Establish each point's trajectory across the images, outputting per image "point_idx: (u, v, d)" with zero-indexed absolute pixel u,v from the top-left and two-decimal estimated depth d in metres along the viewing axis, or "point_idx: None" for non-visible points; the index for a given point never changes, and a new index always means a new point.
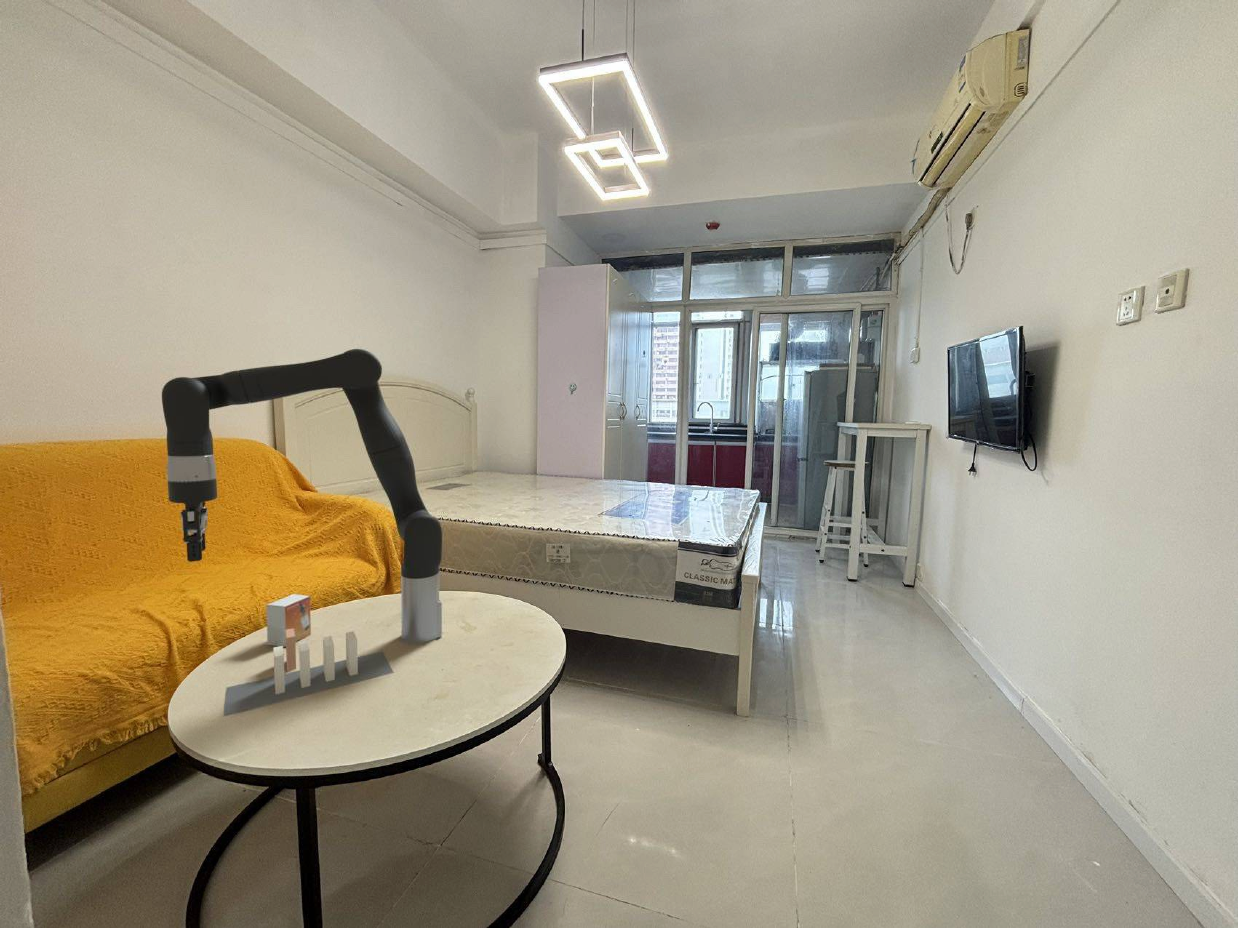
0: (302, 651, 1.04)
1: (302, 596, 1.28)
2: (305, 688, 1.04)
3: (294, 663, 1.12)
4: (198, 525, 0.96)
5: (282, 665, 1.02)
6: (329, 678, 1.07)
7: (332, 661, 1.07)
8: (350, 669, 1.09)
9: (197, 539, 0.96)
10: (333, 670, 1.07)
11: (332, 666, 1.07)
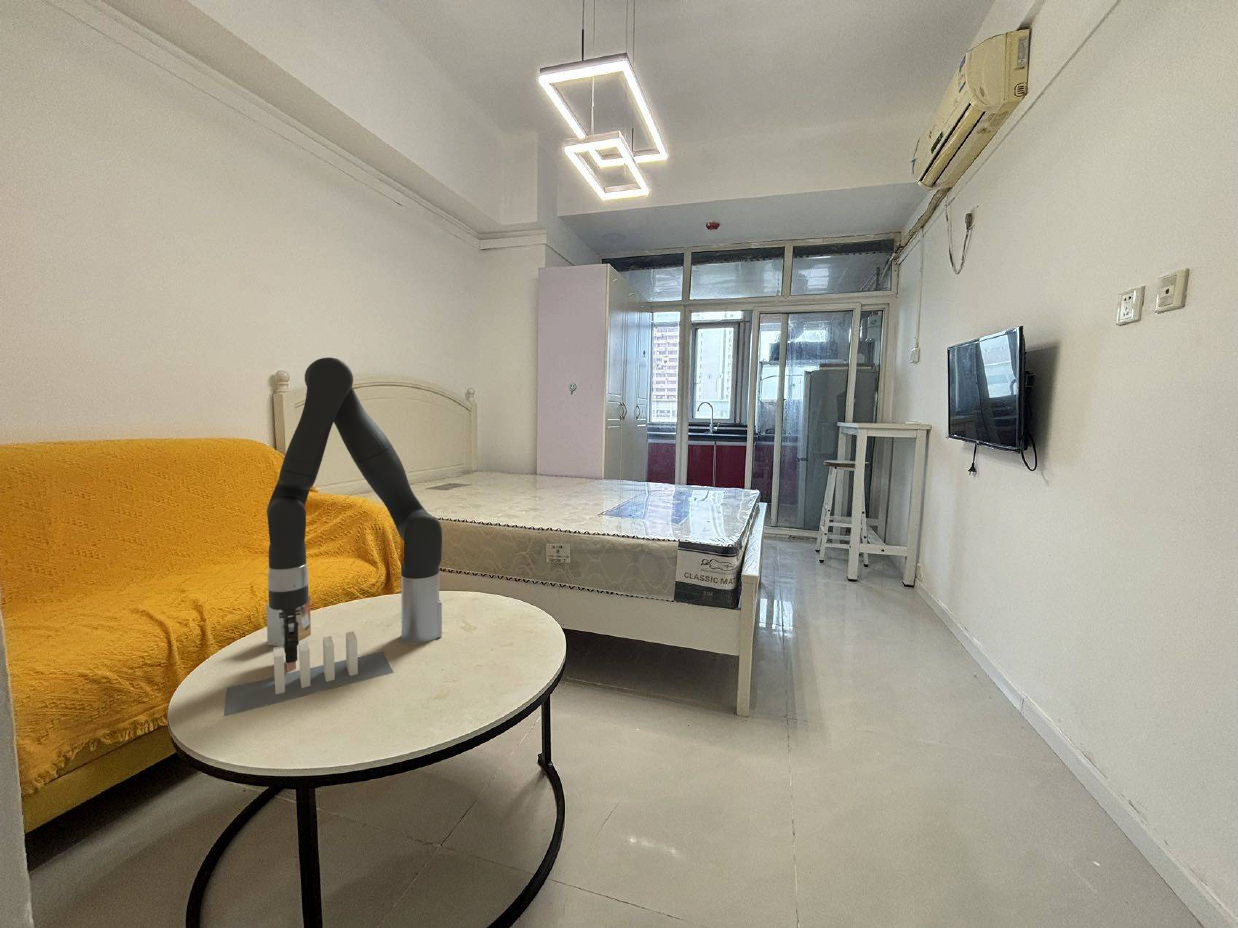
0: (302, 651, 1.04)
1: None
2: (305, 688, 1.04)
3: (294, 663, 1.12)
4: (297, 634, 1.08)
5: (282, 665, 1.02)
6: (329, 678, 1.07)
7: (332, 661, 1.07)
8: (350, 669, 1.09)
9: (295, 644, 1.09)
10: (333, 670, 1.07)
11: (332, 666, 1.07)
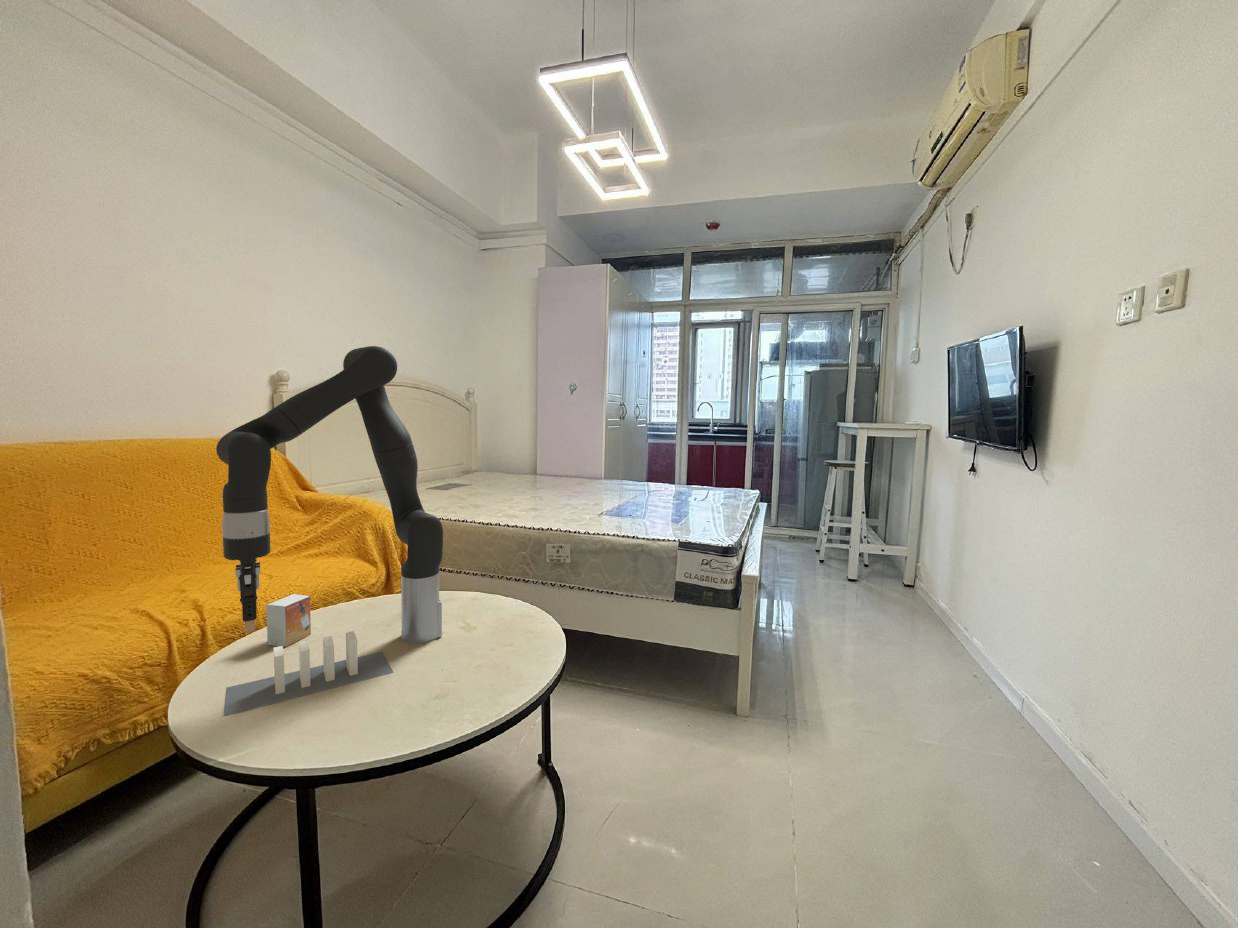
0: (302, 651, 1.04)
1: (302, 596, 1.28)
2: (305, 688, 1.04)
3: (252, 622, 0.98)
4: (254, 588, 0.95)
5: (282, 665, 1.02)
6: (329, 678, 1.07)
7: (332, 661, 1.07)
8: (350, 669, 1.09)
9: (253, 600, 0.95)
10: (333, 670, 1.07)
11: (332, 666, 1.07)
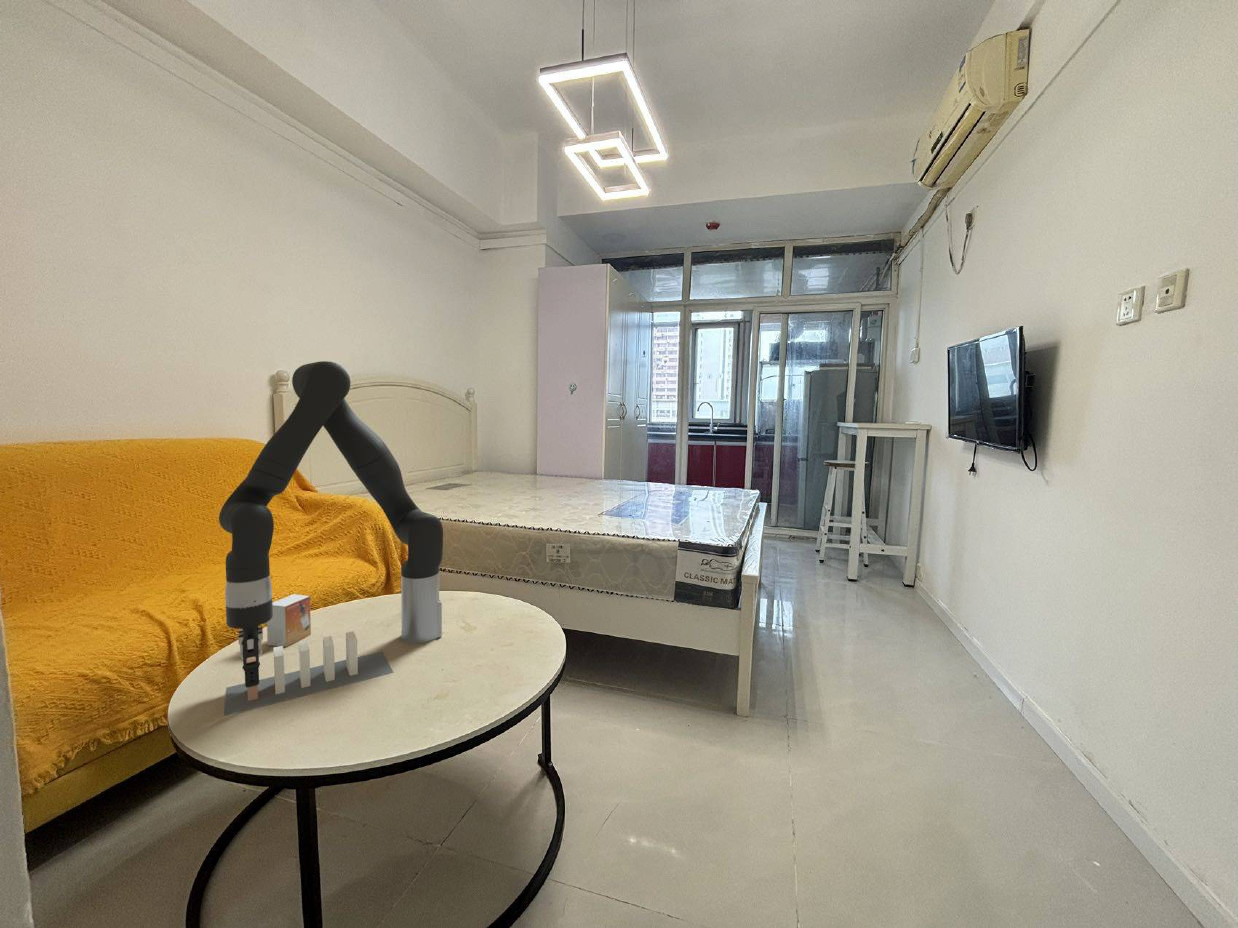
0: (302, 651, 1.04)
1: (302, 596, 1.28)
2: (305, 688, 1.04)
3: (255, 691, 0.99)
4: (257, 652, 0.95)
5: (282, 665, 1.02)
6: (329, 678, 1.07)
7: (332, 661, 1.07)
8: (350, 669, 1.09)
9: (256, 666, 0.95)
10: (333, 670, 1.07)
11: (332, 666, 1.07)
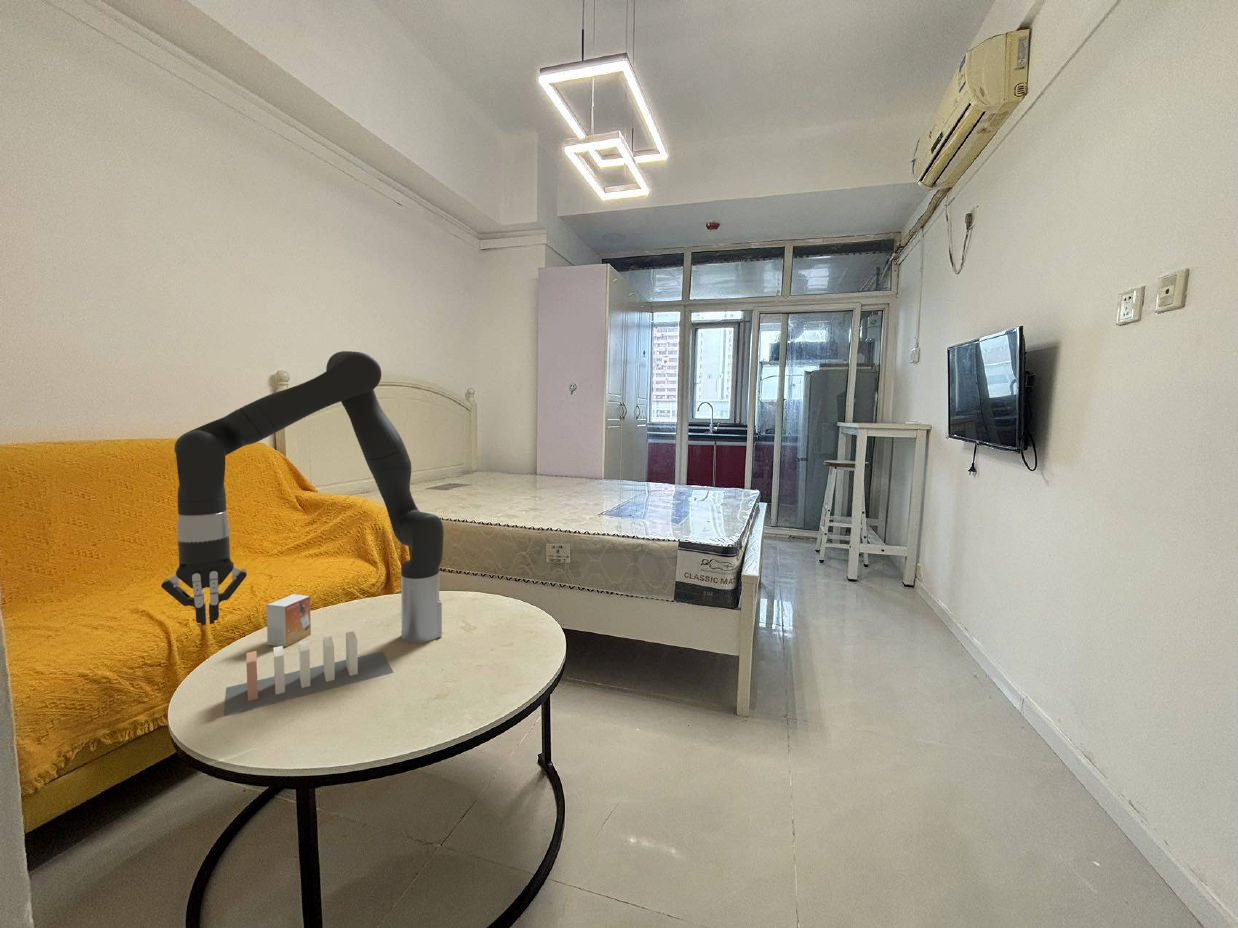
0: (302, 651, 1.04)
1: (302, 596, 1.28)
2: (305, 688, 1.04)
3: (255, 691, 0.99)
4: (172, 595, 0.92)
5: (282, 665, 1.02)
6: (329, 678, 1.07)
7: (332, 661, 1.07)
8: (350, 669, 1.09)
9: None
10: (333, 670, 1.07)
11: (332, 666, 1.07)
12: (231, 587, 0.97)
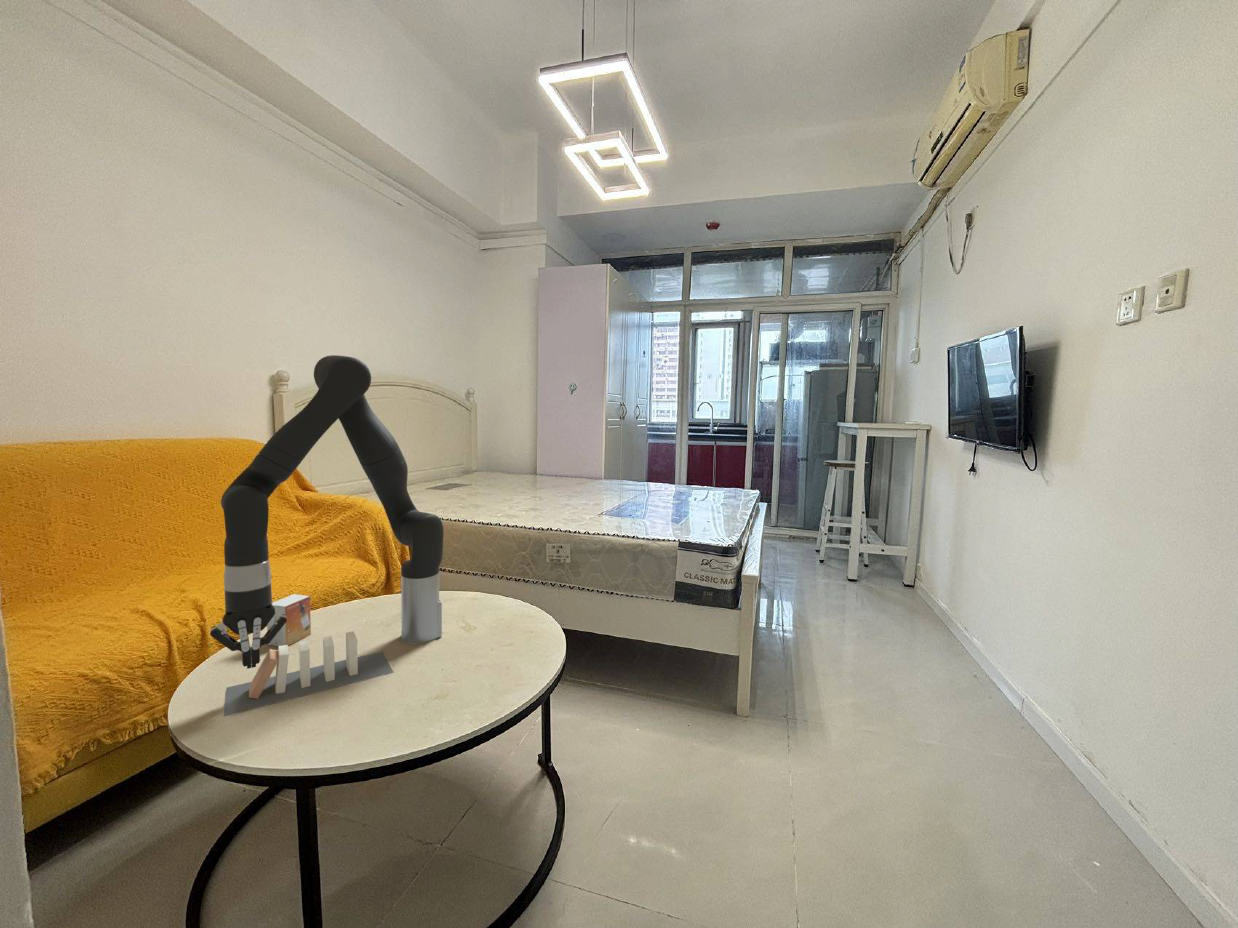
0: (302, 651, 1.04)
1: (302, 596, 1.28)
2: (305, 688, 1.04)
3: (260, 690, 1.00)
4: (221, 642, 0.97)
5: (286, 664, 1.02)
6: (329, 678, 1.07)
7: (332, 661, 1.07)
8: (350, 669, 1.09)
9: None
10: (333, 670, 1.07)
11: (332, 666, 1.07)
12: (272, 632, 1.01)
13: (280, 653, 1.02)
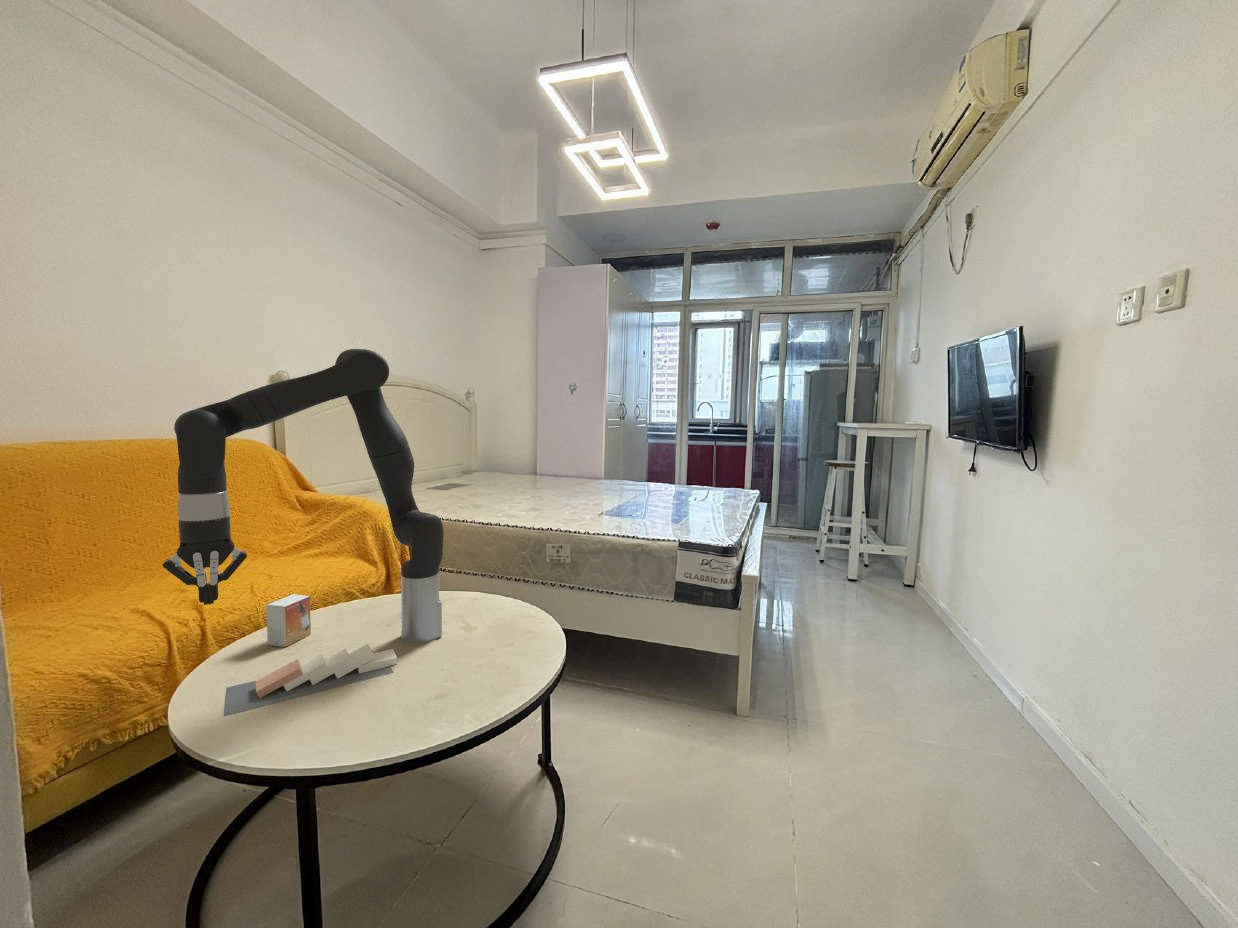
0: (349, 658, 1.09)
1: (302, 596, 1.28)
2: (305, 688, 1.04)
3: (268, 692, 1.01)
4: (174, 575, 0.92)
5: (316, 673, 1.06)
6: (338, 673, 1.08)
7: (356, 666, 1.10)
8: (365, 665, 1.11)
9: None
10: (347, 672, 1.09)
11: (351, 669, 1.10)
12: (231, 567, 0.96)
13: (324, 661, 1.07)
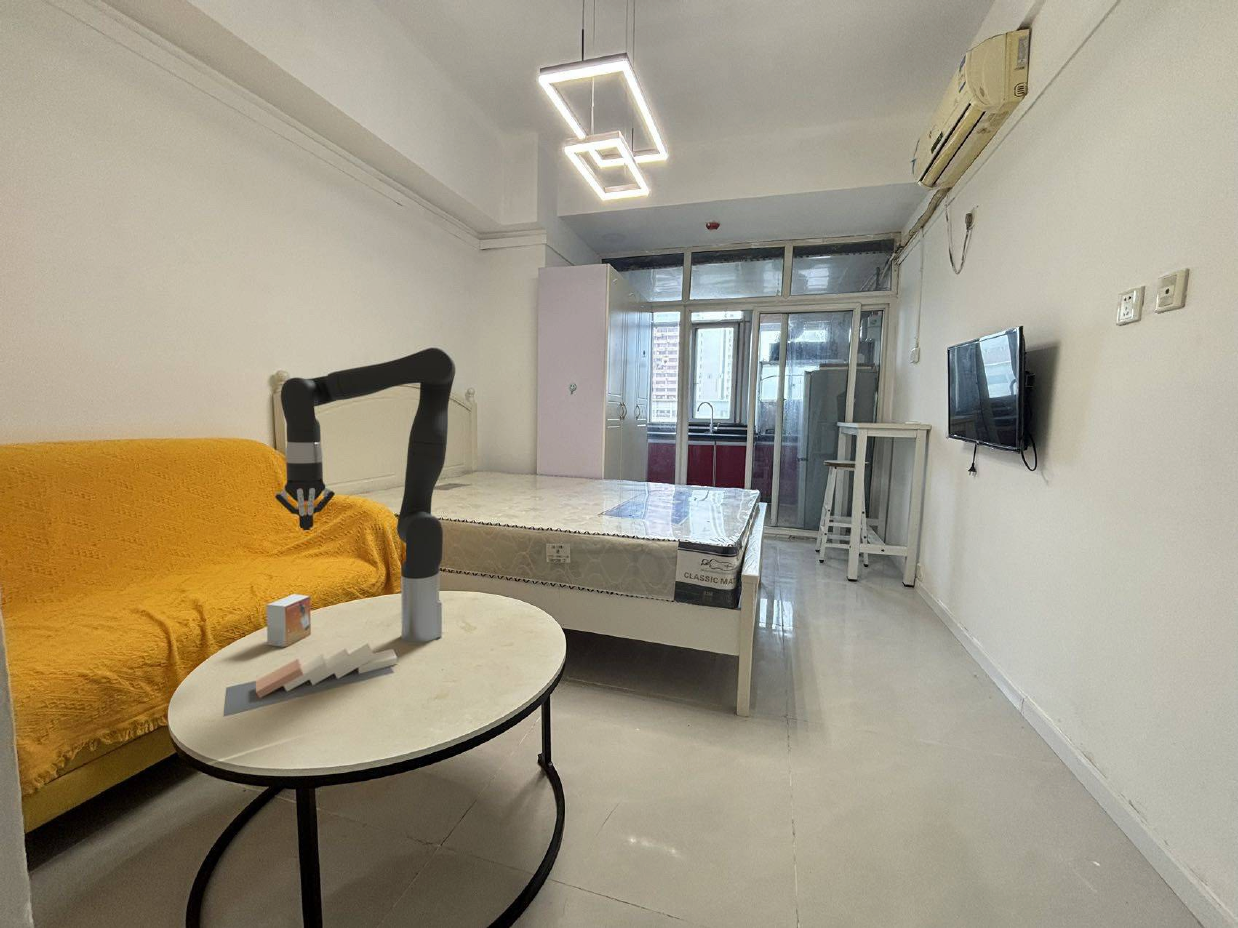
0: (349, 658, 1.09)
1: (302, 596, 1.28)
2: (305, 688, 1.04)
3: (268, 692, 1.01)
4: (283, 505, 1.19)
5: (316, 673, 1.06)
6: (338, 673, 1.08)
7: (356, 666, 1.10)
8: (365, 665, 1.11)
9: None
10: (347, 672, 1.09)
11: (351, 669, 1.10)
12: (323, 502, 1.24)
13: (324, 661, 1.07)
